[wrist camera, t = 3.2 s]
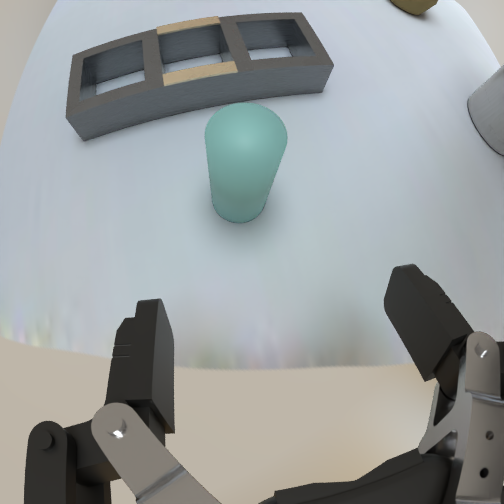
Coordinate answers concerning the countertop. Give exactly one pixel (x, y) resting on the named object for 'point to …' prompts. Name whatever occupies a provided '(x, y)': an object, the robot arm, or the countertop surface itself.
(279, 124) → the peg
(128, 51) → the rail
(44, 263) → the countertop surface
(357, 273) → the countertop surface
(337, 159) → the countertop surface
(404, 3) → the squeeze bottle
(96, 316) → the countertop surface
